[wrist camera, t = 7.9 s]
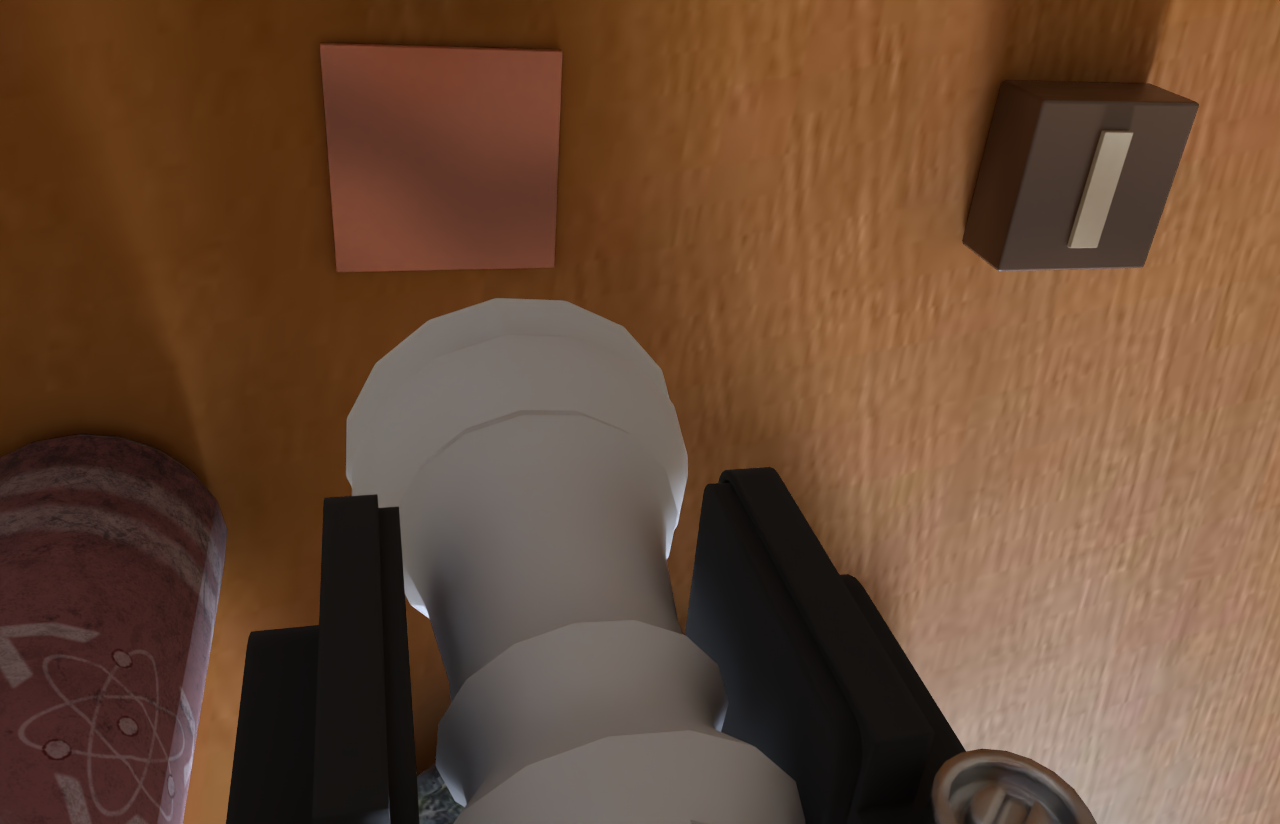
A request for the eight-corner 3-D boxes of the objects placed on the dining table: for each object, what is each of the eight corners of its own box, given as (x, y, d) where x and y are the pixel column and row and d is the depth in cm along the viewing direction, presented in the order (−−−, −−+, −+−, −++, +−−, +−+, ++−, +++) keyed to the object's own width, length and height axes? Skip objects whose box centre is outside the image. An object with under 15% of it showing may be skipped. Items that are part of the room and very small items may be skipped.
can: (-52, 409, 25) (-417, 986, 13) (237, 436, 27) (148, 955, 15) (-42, 609, 27) (-334, 1233, 16) (220, 619, 29) (134, 1177, 18)
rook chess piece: (451, 603, 16) (526, 1203, 9) (273, 386, 13) (199, 994, 7) (713, 465, 16) (981, 976, 9) (581, 218, 13) (817, 674, 7)
